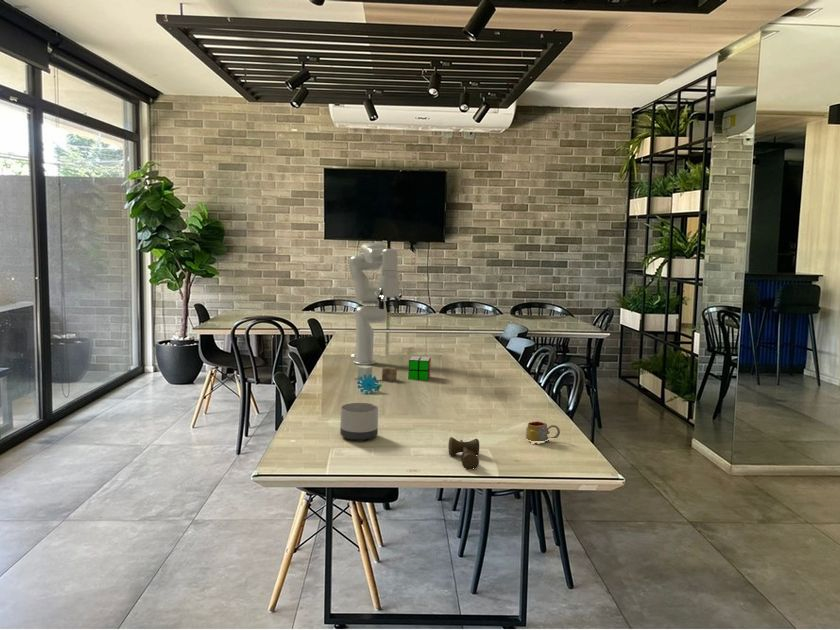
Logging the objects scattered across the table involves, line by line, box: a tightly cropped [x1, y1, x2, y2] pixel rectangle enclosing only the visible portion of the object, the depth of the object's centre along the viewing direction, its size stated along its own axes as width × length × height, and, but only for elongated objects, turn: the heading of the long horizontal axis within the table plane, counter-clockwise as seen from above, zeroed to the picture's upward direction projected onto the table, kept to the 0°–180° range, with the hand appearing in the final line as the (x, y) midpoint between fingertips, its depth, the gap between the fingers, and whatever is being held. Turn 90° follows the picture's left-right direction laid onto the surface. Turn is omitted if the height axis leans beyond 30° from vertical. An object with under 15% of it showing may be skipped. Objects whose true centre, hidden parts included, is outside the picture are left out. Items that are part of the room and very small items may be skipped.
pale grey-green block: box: [357, 365, 373, 380], centre depth 310 cm, size 5×5×6 cm
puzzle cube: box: [407, 356, 432, 381], centre depth 317 cm, size 10×10×10 cm
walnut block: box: [381, 366, 398, 383], centre depth 309 cm, size 5×5×6 cm
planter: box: [339, 402, 379, 441], centre depth 219 cm, size 13×13×10 cm
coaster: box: [378, 378, 401, 384], centre depth 309 cm, size 8×8×1 cm
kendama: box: [447, 436, 480, 470], centre depth 201 cm, size 6×10×20 cm
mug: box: [525, 420, 561, 441], centre depth 221 cm, size 12×7×7 cm, turn 96°
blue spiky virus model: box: [356, 374, 383, 395], centre depth 286 cm, size 11×6×10 cm
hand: (389, 308), depth 316 cm, fingers open, 9 cm apart
